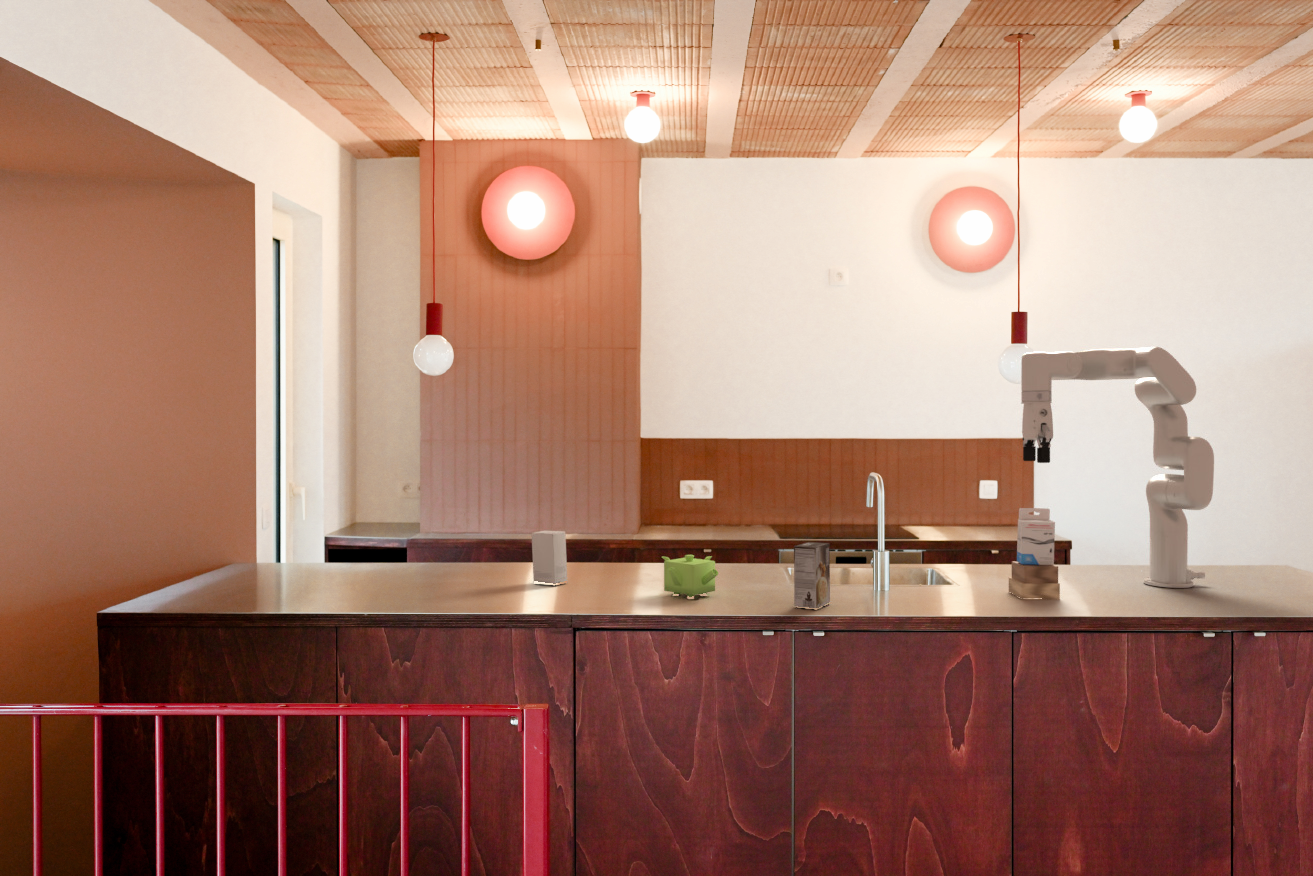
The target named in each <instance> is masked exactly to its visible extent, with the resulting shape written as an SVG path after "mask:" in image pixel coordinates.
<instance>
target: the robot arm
mask: <svg viewBox="0 0 1313 876" xmlns="http://www.w3.org/2000/svg"><path fill="white" fill-rule="evenodd" d="M1020 375H1021V387H1020V389H1021V393H1020V394H1021V399H1020V400H1021V403H1020V404H1023V409H1022V422H1021V423H1022V425H1021V426H1022V427H1021V428H1022V429H1021V433H1022V454H1023V455H1022V461H1024V462H1037V463H1039V464H1047V463H1051V448H1052V447H1051V445H1052V444H1051V442H1052V440H1053V438H1054V422H1053V410H1052V404H1053V403H1052V396H1053V395H1052V387H1053V386H1052V384H1053V383H1052V381H1065V380H1066V381H1067V380H1068V381H1069V380H1074V381H1075V380H1080V381H1082V380H1083V381H1105V380H1106V381H1111V380H1132V379H1133V380H1134V379H1136V380H1137V379H1138V380H1137V381H1136V382H1135V384H1134V395H1136V398H1137V399H1138V401H1140V402H1141V403H1142V405H1144V406H1145V407H1146V408H1147V411H1149V413H1150V414H1151V417H1152V420H1153V446H1152V454H1153V456H1152V457H1153V462H1154V464H1155V465H1156V466H1157V467H1159V468H1161V469H1166V470H1175V471H1176V470H1177V471H1178V470H1179V471H1183V474H1173V473H1163V474H1162V473H1161V474H1157V475H1154V476H1152V477H1151V478H1150V479H1149V480H1148V481H1147V484H1146V487H1145V496H1146V501H1147V503H1148V511H1149V577H1145V578H1143V583H1144V584H1146V585H1148V586H1153V587H1160V588H1169V589H1170V588H1171V589H1172V588H1173V589H1186V588H1193V587H1194V585H1195V584H1194V581H1193V580H1195V579H1197V580H1198V579H1205V577H1206V573H1205V572H1204V571H1194V570H1193V571H1192V569H1189V568H1188V549H1189V548H1188V546H1189V545H1188V543H1189V542H1188V538H1189V537H1188V535H1189V534H1188V531H1189V528H1188V526H1189V525H1188V519H1187V517H1186V515H1185V513H1184V510H1189V511H1201V510H1204V509H1206V508H1207V507H1208V506H1209V505H1210V504H1211V501H1212V499H1213V492H1214V474H1215V472H1214V471H1215V453H1214V450H1213V448H1212V445H1211V444H1210V442H1209V441H1208V440H1207V439H1205V438H1204V437H1203V438H1202V437H1201V436H1189V433H1188V432H1189V429H1188V428H1189V427H1188V416H1187V413H1186V411H1185V409H1184V407H1183V406H1182V405H1187V404H1190V403H1191V402H1193V400H1194V399H1195V397H1196V395H1197V394H1196V393H1197V385H1196V382H1195V380H1194V378H1193V377H1192V376H1191V375H1190V373H1189V372H1188V371H1187V370H1186V368H1184V367H1183V366H1182V365H1181V363H1180V362H1179V361H1178V360H1177V359H1176V358H1175V357H1174V356H1173V355H1172V354H1171V353H1170V352H1169V351H1168V350H1166V349H1164V348H1162V347H1159V346H1150V347H1149V346H1148V347H1147V346H1146V347H1137V348H1135V347H1134V348H1099V349H1089V350H1083V351H1076V352H1073V351H1068V350H1067V351H1066V350H1065V351H1064V350H1063V351H1054V352H1053V351H1052V352H1048V351H1047V352H1046V351H1033V352H1032V351H1031V352H1026V353H1025V352H1024V354H1022V356H1021V373H1020ZM1036 442H1037V445H1038V447H1036V446H1035V444H1036Z"/></svg>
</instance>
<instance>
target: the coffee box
mask: <svg viewBox="0 0 1313 876" xmlns="http://www.w3.org/2000/svg"><path fill="white" fill-rule="evenodd" d="M830 549H831V547H830V542H815V541H814V542H813V541H807V542H804V543H800V544H797V545H794V546H793V590H794V591H793V595H794V597H793V598H794V600H793V601H794V602H793V603H794V604H793V605H794V606H798V607H809V608H819V607H821V606H824V605H825V604H827V603H829V602H830V603H831V581H830V580H831V567H830V566H831V565H830V562H831V560H830V559H831V558H830V556H831V555H830V551H831V550H830Z"/></svg>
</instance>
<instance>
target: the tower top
mask: <svg viewBox="0 0 1313 876" xmlns="http://www.w3.org/2000/svg"><path fill="white" fill-rule="evenodd" d="M1011 577H1012V578H1013V579H1015V580H1018V581H1020V582H1022V583H1024V584H1035V583H1059V566H1058V565H1056V564H1054V565H1027V564H1021V563H1019V562H1017V560H1016V561H1015V560H1014V561H1011Z"/></svg>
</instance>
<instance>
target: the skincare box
mask: <svg viewBox="0 0 1313 876" xmlns="http://www.w3.org/2000/svg"><path fill="white" fill-rule="evenodd" d="M531 550H532V571H533V572H532V573H533V577H532V579H533V582H534V581H538V582H545V583H553V584H556V583H560V582H564V581H567V582H568V568H567V567H568V565H567V564H568V563H567V560H568V559H567V538H566V531H565V530H563V531H562V530H540V531H534V532H531Z"/></svg>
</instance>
